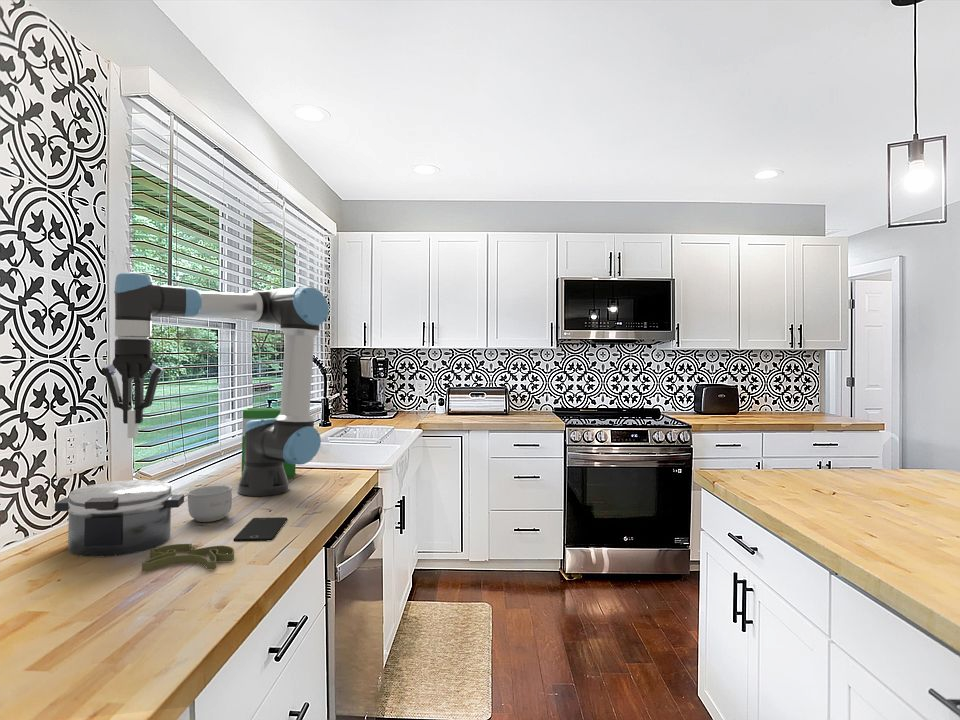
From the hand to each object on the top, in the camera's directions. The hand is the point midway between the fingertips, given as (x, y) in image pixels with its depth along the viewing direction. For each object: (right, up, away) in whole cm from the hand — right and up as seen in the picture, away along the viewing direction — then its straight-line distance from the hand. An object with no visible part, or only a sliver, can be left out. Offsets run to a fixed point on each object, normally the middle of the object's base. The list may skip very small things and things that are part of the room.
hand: (132, 437), depth 138 cm
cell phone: (+28, -25, +7) cm, 38 cm away
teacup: (+12, -24, +16) cm, 31 cm away
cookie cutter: (+21, -25, -16) cm, 36 cm away
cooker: (0, -23, -5) cm, 24 cm away
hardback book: (+8, -23, +69) cm, 73 cm away
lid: (+1, -12, -7) cm, 14 cm away
